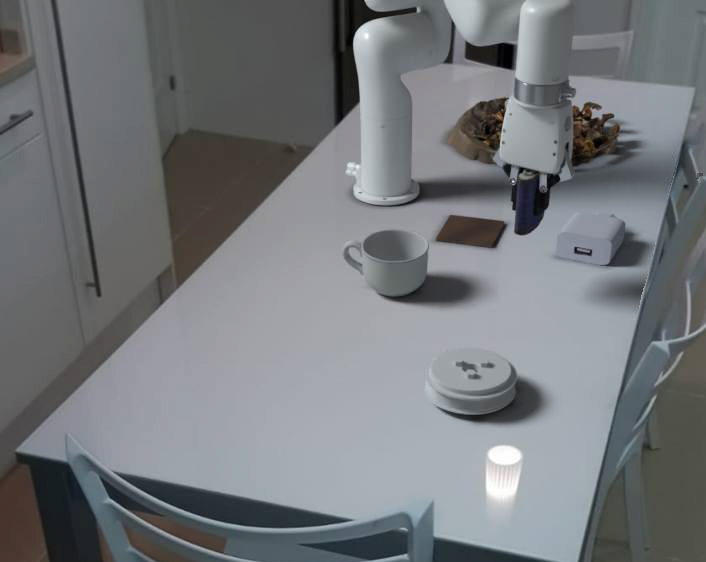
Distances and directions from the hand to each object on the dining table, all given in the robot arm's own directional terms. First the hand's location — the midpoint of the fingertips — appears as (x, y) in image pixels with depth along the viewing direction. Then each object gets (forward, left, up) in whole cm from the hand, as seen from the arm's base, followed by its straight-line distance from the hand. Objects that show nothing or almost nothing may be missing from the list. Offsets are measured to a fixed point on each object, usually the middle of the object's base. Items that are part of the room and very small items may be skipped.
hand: (529, 209), depth 167 cm
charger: (+3, +22, -14) cm, 26 cm away
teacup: (-20, -10, -14) cm, 26 cm away
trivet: (-18, +15, -14) cm, 27 cm away
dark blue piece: (0, +1, -3) cm, 3 cm away
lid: (+7, -31, -14) cm, 35 cm away
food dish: (-28, +60, -14) cm, 67 cm away
